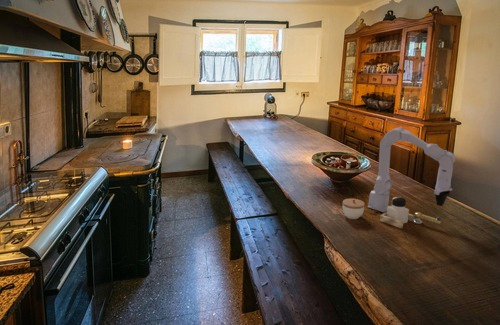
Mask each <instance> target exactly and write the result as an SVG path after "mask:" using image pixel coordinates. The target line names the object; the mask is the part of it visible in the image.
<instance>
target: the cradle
mask: <svg viewBox="0 0 500 325" xmlns="http://www.w3.org/2000/svg"><path fill="white" fill-rule="evenodd" d="M386 215H387V211H385V212H383V213H382V214H380V215H379V216H380V217H379V218H380V219H379V222H382V223H385V224H387V225H391V226H393V227H396V228H399V229H404V224H405V223H404V222H402V221H399V220H396V219H393V218H390V217H387V216H386ZM413 219H415V214H412V213H409V214H408V221H409V222H412V221H413Z"/></svg>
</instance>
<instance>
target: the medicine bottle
mask: <svg viewBox="0 0 500 325" xmlns="http://www.w3.org/2000/svg"><path fill="white" fill-rule="evenodd" d="M406 203H407V199H406V198H404V197H401V196H395V197H393V198H392V200H391V205H388V207H387V211H386V212H387V215H386V216H387V217H390V218H393V219H396V220H399V221H402V222H404V223H403V224H406V223H408V221H409V220H408V214H410V213H409V212H410V209H409V208H407V207H406Z"/></svg>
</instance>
